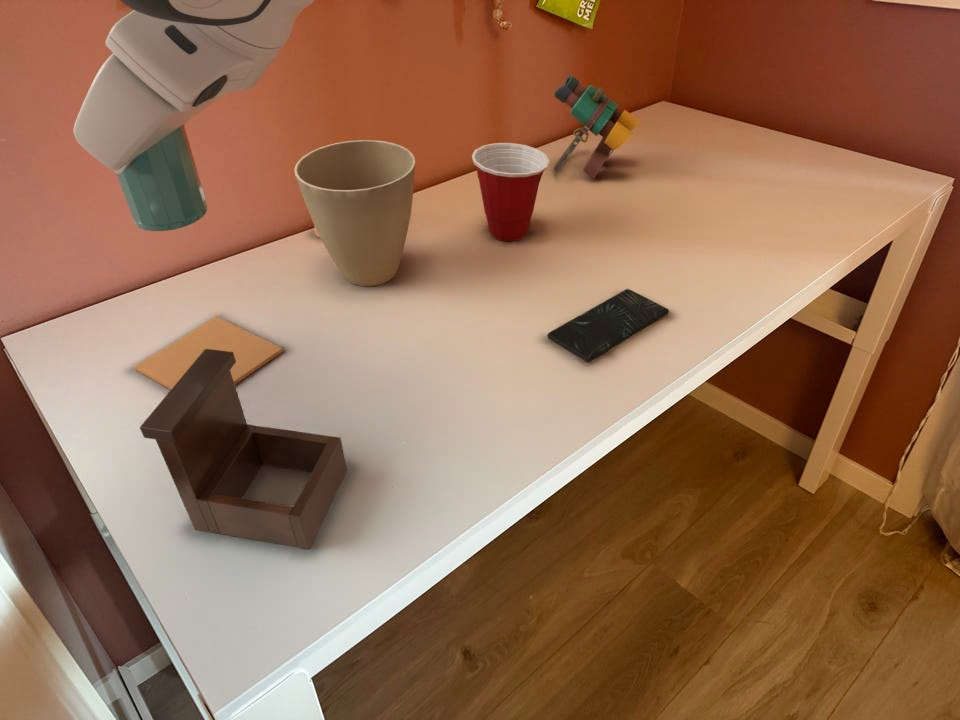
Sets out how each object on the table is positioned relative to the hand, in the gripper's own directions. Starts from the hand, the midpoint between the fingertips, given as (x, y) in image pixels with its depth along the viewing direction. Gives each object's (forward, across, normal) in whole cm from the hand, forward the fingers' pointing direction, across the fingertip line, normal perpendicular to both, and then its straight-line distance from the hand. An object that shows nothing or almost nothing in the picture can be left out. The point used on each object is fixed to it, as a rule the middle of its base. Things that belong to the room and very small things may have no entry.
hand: (142, 146), depth 62 cm
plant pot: (+15, -27, +26) cm, 40 cm away
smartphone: (-8, -20, +49) cm, 54 cm away
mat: (+24, -5, +17) cm, 30 cm away
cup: (+4, 0, +5) cm, 6 cm away
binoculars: (-4, -66, +45) cm, 80 cm away
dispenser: (+12, +13, +28) cm, 33 cm away
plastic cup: (+3, -42, +38) cm, 57 cm away
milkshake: (+22, -37, +19) cm, 47 cm away
